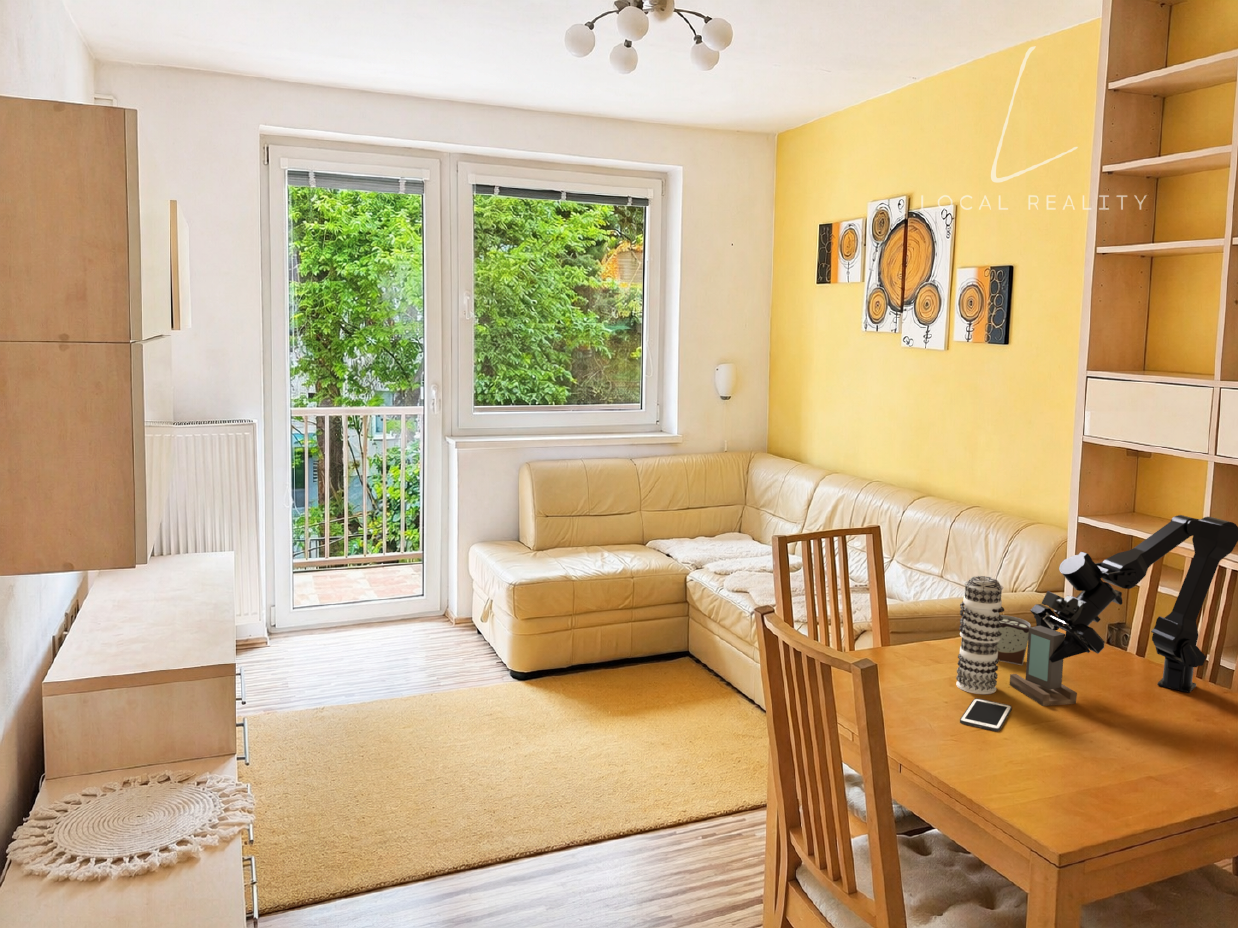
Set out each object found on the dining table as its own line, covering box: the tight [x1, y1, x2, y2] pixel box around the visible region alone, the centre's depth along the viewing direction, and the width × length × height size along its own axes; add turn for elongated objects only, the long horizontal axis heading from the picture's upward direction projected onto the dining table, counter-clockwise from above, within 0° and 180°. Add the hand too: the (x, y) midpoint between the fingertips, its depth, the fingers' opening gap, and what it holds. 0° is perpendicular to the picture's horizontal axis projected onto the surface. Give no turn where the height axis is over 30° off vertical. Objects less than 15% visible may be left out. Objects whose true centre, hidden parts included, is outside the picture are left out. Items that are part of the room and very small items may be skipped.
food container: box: [997, 614, 1032, 667], centre depth 228 cm, size 12×6×10 cm, turn 58°
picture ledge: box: [1009, 673, 1078, 707], centre depth 206 cm, size 8×12×2 cm, turn 11°
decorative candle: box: [955, 575, 1005, 695], centre depth 208 cm, size 9×9×25 cm
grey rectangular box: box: [1024, 625, 1066, 690], centre depth 205 cm, size 4×6×12 cm, turn 25°
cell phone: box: [959, 697, 1012, 733], centre depth 194 cm, size 8×15×1 cm, turn 147°
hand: (1039, 654), depth 204 cm, fingers closed on grey rectangular box, 7 cm apart
